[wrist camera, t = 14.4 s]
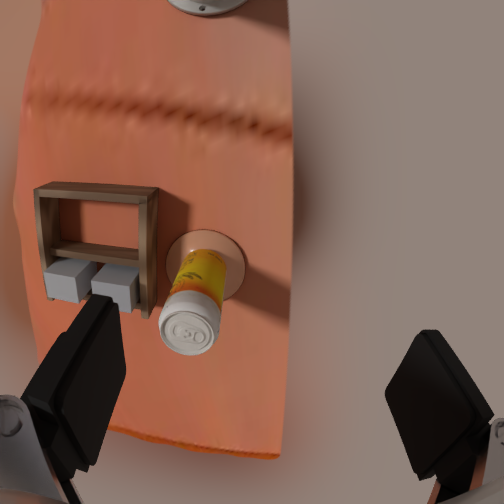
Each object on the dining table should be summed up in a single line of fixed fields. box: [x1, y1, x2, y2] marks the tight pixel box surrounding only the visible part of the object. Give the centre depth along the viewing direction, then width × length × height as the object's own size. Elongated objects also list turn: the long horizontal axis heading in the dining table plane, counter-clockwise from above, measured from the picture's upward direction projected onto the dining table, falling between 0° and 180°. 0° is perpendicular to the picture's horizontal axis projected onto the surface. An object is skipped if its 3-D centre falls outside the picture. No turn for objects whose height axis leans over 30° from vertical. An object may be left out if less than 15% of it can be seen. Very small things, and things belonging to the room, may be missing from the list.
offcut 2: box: [91, 263, 140, 313], centre depth 40 cm, size 4×6×7 cm
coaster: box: [166, 229, 245, 300], centre depth 43 cm, size 11×11×1 cm
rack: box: [33, 182, 159, 319], centre depth 39 cm, size 17×17×5 cm
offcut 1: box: [43, 256, 97, 303], centre depth 40 cm, size 4×6×7 cm
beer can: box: [159, 249, 227, 355], centre depth 35 cm, size 6×6×15 cm
